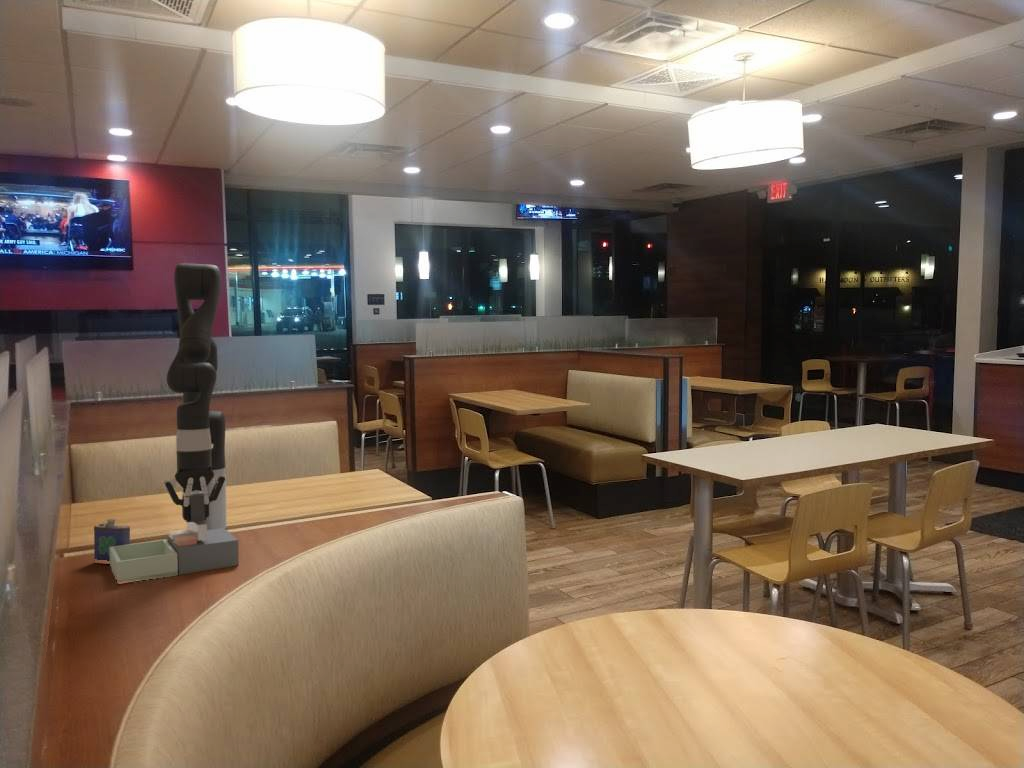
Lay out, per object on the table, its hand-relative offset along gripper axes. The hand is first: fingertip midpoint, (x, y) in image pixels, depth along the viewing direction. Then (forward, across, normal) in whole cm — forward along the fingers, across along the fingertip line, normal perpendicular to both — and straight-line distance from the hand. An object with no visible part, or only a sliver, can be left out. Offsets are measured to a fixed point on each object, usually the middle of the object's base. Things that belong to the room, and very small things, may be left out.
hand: (195, 520), depth 176 cm
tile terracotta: (+4, +3, +3) cm, 6 cm away
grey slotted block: (+10, -1, 0) cm, 10 cm away
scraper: (+3, 0, +1) cm, 4 cm away
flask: (+11, +16, -12) cm, 23 cm away
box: (+10, +12, 0) cm, 15 cm away
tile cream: (+4, +3, -4) cm, 6 cm away
